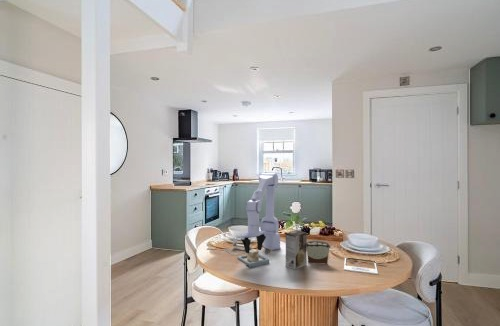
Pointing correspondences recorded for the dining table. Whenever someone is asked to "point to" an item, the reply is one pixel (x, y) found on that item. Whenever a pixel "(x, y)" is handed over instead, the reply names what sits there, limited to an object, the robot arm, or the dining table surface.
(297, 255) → the coffee box
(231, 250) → the board
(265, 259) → the tray
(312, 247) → the food container
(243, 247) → the crank lever
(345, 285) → the dining table surface
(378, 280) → the dining table surface
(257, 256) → the block
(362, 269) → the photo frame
